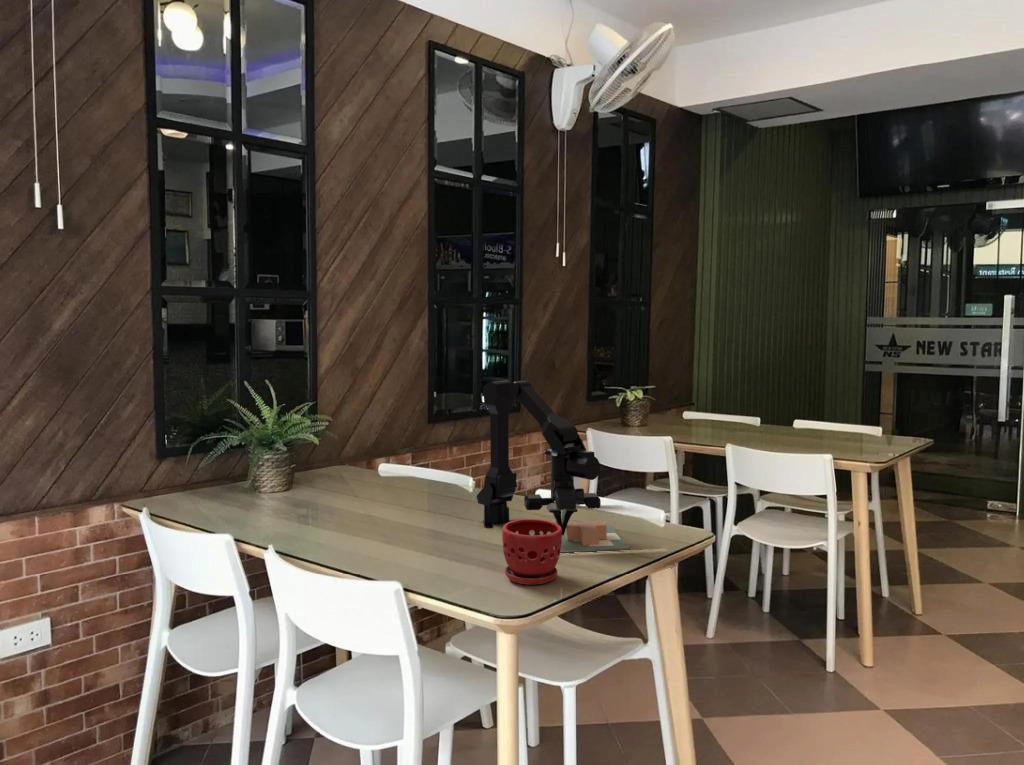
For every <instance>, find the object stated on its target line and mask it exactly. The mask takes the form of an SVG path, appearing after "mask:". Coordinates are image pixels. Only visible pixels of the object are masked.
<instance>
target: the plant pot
mask: <svg viewBox="0 0 1024 765" xmlns="http://www.w3.org/2000/svg"><path fill="white" fill-rule="evenodd" d="M530 530H534V531H535V534H534V535H530V534H529V532H530ZM540 531H542V532H543V535H540ZM548 531H549V532H551V534H547V532H548ZM501 535H502V539H501V540H502V549H503V556H504V559H505V562H506V564H507V566H506V567H505V568H504V574H505V575H506V577H507V578H508V579H509V580H511V581H512V582H514V583H518V584H521V585H522V584H523V585H530V586H533V585H534V586H536V585H543V584H547V583H550V582H552V581H553V580H554V579H555V578H556V577H557V575H558V569H557V568H556V566H557V564H558V561H559V560H560V555H561V554H560V552H562V551H561V544H562V528H561V526H560V525H558V524H557V522H554V521H551V520H547V519H546V520H545V519H535V518H534V519H533V518H523V519H516V520H512V521H509V522H508V523H504V524H503V526H502V534H501ZM554 546H555V548H554ZM553 548H554V549H553Z"/></svg>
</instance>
